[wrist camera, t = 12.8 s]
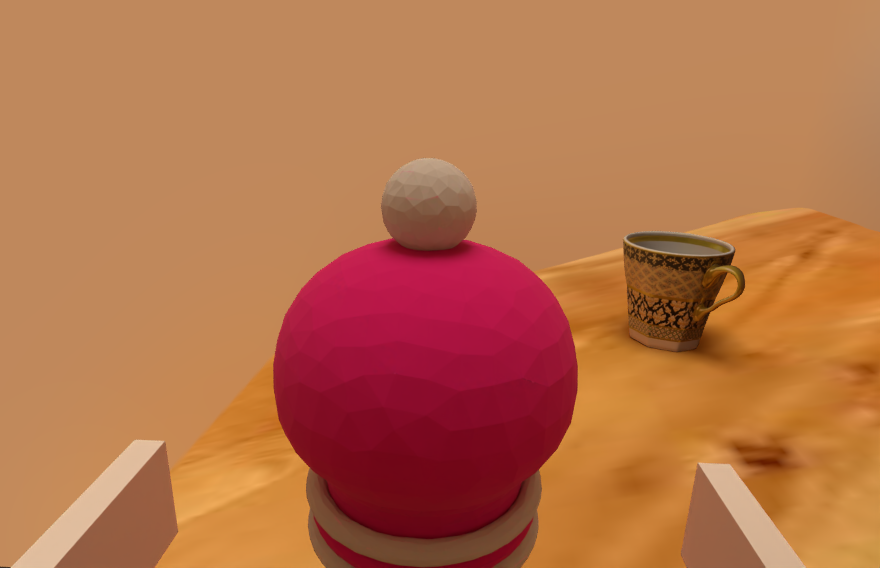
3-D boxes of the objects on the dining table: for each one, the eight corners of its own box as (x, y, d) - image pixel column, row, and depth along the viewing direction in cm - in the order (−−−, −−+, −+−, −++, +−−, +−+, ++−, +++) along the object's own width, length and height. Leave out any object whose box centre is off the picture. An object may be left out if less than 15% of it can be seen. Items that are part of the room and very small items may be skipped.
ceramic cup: (592, 326, 61) (602, 234, 58) (666, 315, 64) (680, 228, 61) (683, 380, 49) (701, 268, 46) (767, 363, 53) (790, 259, 50)
